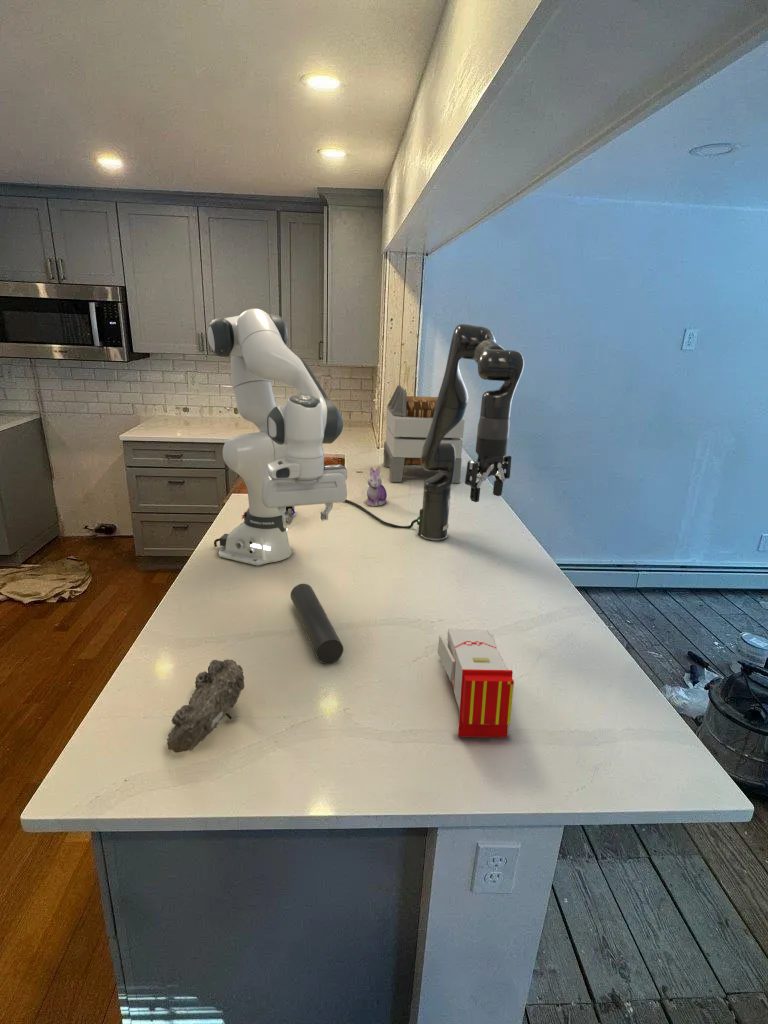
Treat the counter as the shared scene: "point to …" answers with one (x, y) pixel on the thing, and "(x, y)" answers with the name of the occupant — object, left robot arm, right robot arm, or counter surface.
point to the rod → (316, 624)
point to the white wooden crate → (414, 433)
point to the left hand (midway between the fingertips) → (305, 521)
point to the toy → (478, 682)
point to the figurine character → (290, 510)
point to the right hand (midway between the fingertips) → (485, 498)
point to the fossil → (206, 705)
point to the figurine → (375, 489)
